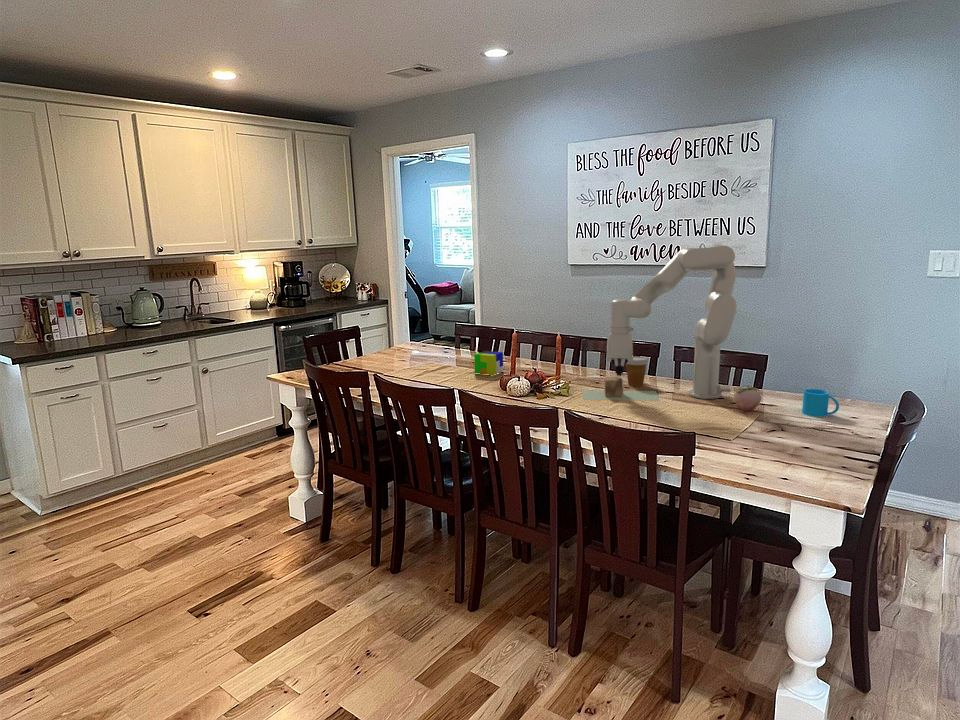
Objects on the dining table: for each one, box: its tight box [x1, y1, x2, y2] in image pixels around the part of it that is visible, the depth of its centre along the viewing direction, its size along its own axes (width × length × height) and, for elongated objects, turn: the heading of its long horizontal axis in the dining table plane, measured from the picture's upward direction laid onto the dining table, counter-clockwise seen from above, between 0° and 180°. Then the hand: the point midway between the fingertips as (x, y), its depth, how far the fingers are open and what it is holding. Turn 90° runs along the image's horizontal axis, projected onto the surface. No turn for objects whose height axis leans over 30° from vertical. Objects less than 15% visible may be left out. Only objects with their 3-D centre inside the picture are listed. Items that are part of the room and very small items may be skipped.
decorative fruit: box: [733, 385, 762, 413], centre depth 235 cm, size 9×8×10 cm
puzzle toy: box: [473, 350, 504, 375], centre depth 308 cm, size 10×10×10 cm
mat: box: [582, 389, 661, 402], centre depth 262 cm, size 30×15×1 cm, turn 82°
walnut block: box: [604, 375, 624, 397], centre depth 262 cm, size 7×7×7 cm
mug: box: [801, 388, 840, 418], centre depth 230 cm, size 12×8×8 cm
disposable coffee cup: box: [625, 356, 649, 387], centre depth 278 cm, size 10×10×12 cm
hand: (619, 375), depth 260 cm, fingers closed
